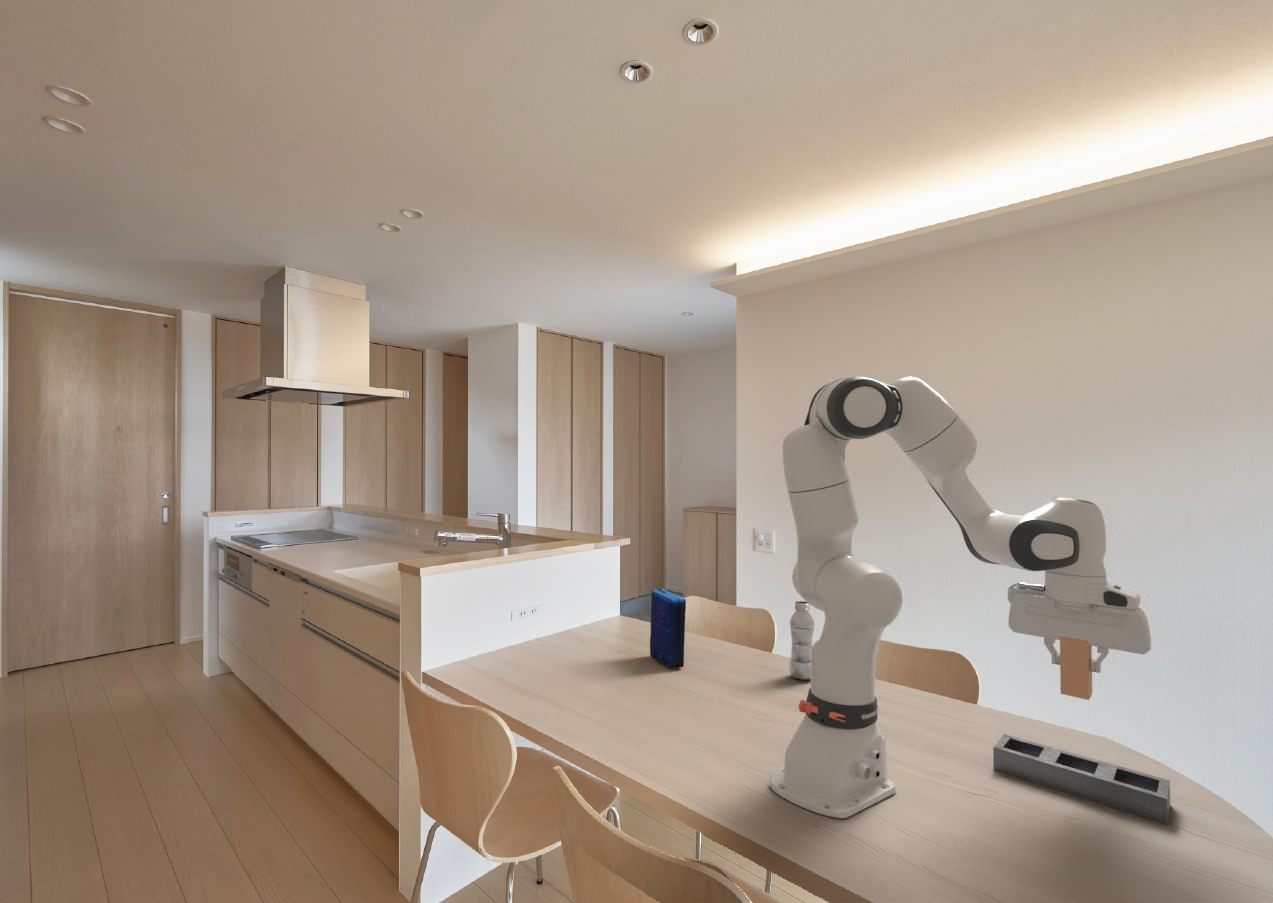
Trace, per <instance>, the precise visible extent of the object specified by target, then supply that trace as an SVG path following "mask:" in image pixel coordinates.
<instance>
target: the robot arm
mask: <svg viewBox="0 0 1273 903" xmlns="http://www.w3.org/2000/svg"><path fill="white" fill-rule="evenodd" d="M807 411H808V412H807V415H806V418H805V421H804V425H802V426H799V427H797V428H795V429H793V430H792V431H790V432H789V433H788V434H787V435H786V436H785V437H784V439H783V442H782V463H783V464H782V466H783V472H784V479H785V483H786V484H785V485H786V489H787V492H788V493H787V494H788V498H789V501H790V506H791V511H792V515H793V520H794V523H795V529H796V537H797V538H796V539H797V557H796V558H797V560H796V561H797V562H796V563H795V565H794V567H793V570H792V573H791V574H792V575H791V576H792V584H793V587H794V589H795V592H796V593H797V594H798V595H799V596H800V597H801V598H802V599H803V600H804V601H805V602H807V603H808V604H809V606H811V607H813V608H815V609H817V610H819V611H822V612H823V614H824V623H823V629H822V631H821V634H820V637H819V639H818V640H816V641H815V642H814V643H813V644H812V649H811V679H810V688H809V689H808V693H807V696H806V700H803V699H801V700H800V701H799V703H798V711H799V712H800V713H805V715H804V716H803V718H802V720H801V722H800V723H799V726H798V728H797V730H796V731H795V733H794V735H793V737H792V739H790V742H789V743H788V746H787V748H786V750H785V756H784V762H783V764H782V765H781V766H780V768H778V769H777V771H776V772H775V774H774V775H773V776H772V777H771V778H770V781H769V787H770V788H771V789H772V791H774V792H775V793H776V794H777V795H778V796H780V797H782V798H783V799H786V800H787V801H789V802H791V803H793V804H795V805H797V806H799V807H801V808H804V809H806V810H809V811H811V812H813V813H814V812H815V813H817V814H820V815H823V816H827V817H832V818H836V819H846V818H850V817H851V816H853V815H855V814H857V813H859V812H861V811H863V810H865V809H866V808H869V807H870V806H873V805H874V804H876V803H878V802H881V801H882V800H885V799H886V798H888V797H890V796H892V795H894V794H895V793H896V785H895V783H894V782H892V780H891V779H890V778H889V777H888V764H887V763H888V761H887V748H886V738H884V736H883V734H882V733H881V731H880V729H879V726H878V725H877V721H878V712H879V705H878V699H877V697H876V696H875V694H876V693H875V692H876V690H875V688H876V687H875V686H876V685H875V684H876V678H875V677H876V657H877V651H878V647H879V644H880V640H881V637H882V635H883V633H884V630H885V629H887V627H888V626H889V625H891V624H892V623H894V621H895V620H896V619H897V617H898V616H899V614H900V612H901V610H902V606H903V593H902V592H903V591H902V590H901V587H900V585H899V583H898V582H897V581H896V579H895V578H894V577H893V576H891V575H890V574H889V573H887V572H886V571H885V570H883V569H882V568H879V567H878V566H876V565H874V564H872V563H868V562H864V561H860V560H857V559H855V557H854V555H853V551H852V550H853V549H852V542H853V541H852V539H853V532H854V531H855V529H856V528H857V526H858V524H859V514H858V510H857V506H856V502H855V496H854V494H853V488H852V484H851V481H850V476H849V473H848V468H847V466H846V457H845V456H846V454H845V453H846V448H847V445H848V443H849V442H850V440H863V439H868V438H871V437H874V436H877V435H878V434H881V433H886V434H887V435H888V436H889V437H891V438H892V439H893V440H894V442H895V443H896V445H898V447H899V448H900V449H901V451H903V453H904V454H905V455H906V456H907V458H908V459H910V460H911V462H912V463H913V464H914V466H916V468H917V469H918V470H919V471H920V472H921V474H922V475H923V476H924V479H925V480H926V481H927V483H928V484H929V485H930V487H931V489H932V490H933V491H934V493H935V494H936V495H937V497H938V498H939V499H940V501H941V502H942V504H943V505H944V506H945V507H946V510H948V511H949V514H951V516H952V517H953V518H954V520H955V521H956V522H957V525H958V526H959V528H960V531H961V533H962V537H963V540H964V543H965V545H966V547H967V549H968V551H969V552H970V554H971V555H972V556H973V557H974V558H976V559H977V560H978V561H980V562H982V563H986V564H992V565H1000V566H1005V567H1009V568H1014V569H1019V570H1021V571H1027V572H1041V571H1043V572H1044V584H1035V583H1034V584H1033V583H1032V584H1031V583H1025V582H1016V583H1015V584H1011V585H1009V587H1008V589H1007V600H1008V602H1009V604H1010V607H1009V613H1008V621H1007V622H1008V624H1007V625H1008V628H1009V629H1010V630H1011V632H1013V633H1017V634H1023V635H1027V636H1028V635H1029V636H1034V637H1039V638H1043V644H1044V645H1045V647H1046V649H1047V650H1048V652H1049V653H1050V655H1051V664H1053V665H1057V666H1060V652H1058V651H1057V649H1056V647H1055V645H1054V644H1055V643H1056V640H1057V641H1060V637H1065V638H1071V639H1077V640H1083V641H1088V645H1091V646H1092V647H1096V649H1097V650H1096V651H1097V653H1098V654H1100V655H1099V656H1098V657H1097V658H1096V659H1093V658H1092V659H1091V660H1090V661H1089V665H1090V667H1089V670H1090V671H1092V673H1093V672H1094V673H1098V674H1100V673H1102V662H1103V661H1104V660H1105V658H1106V657H1107V656H1108V655H1109V653H1110V650H1116V651H1121V652H1127V653H1134V654H1137V655H1146V654H1147V653H1149V652H1150V651H1151V650H1152V639H1151V630H1150V624H1149V621H1148V620H1149V619H1148V617H1147V615H1146V613H1145V612H1144V610H1143V609H1142V608H1140V604H1141V596H1140V594H1139V592H1137V591H1134V590H1133V589H1129V588H1126V587H1123V586H1120V585H1118V584H1114V583H1112V582H1109V581H1107V570H1106V568H1105V564H1104V558H1105V554H1106V552H1107V536H1106V535H1107V534H1106V525H1105V520H1104V516H1103V512H1102V509H1101V508H1100V506H1099V505H1097V504H1095V503H1094V502H1091V501H1088V500H1085V499H1079V498H1070V497H1063V496H1061V497H1060V496H1054V497H1051V498H1049V499H1048V501H1047V502H1045V503H1044V504H1043V505H1041V506H1039V507H1038V508H1035V509H1034V510H1032V511H1029V512H1026V513H1022V514H1020V515H1018V514H1011V513H1005V512H1002V511H999V510H997V509H995V508H993V507H991V506H990V505H989V504H988V503H987V501H986V500H985V498H983V497H982V495H981V493H980V492H979V490H977V488H976V487H975V485H974V484H973V482H972V481H971V480H970V479H969V476H968V475H967V472H966V469H967V468H968V466H970V465H971V463H972V462H973V460H974V458H975V456H976V454H977V448H978V442H977V439H976V437H975V434H974V432H973V431H972V429H971V428H970V427H969V425H968V424H967V422H966V421H965V419H963V418H962V416H961V415H960V414H959V413H958V412H957V411H956V410H955V408H953V407H952V405H951V404H950V403H949V402H948V401H947V400H946V399H945V398H944V397H943V396H942V395H940V394H939V393H938V392H937V391H936V390H935V389H933V388H932V387H931V386H930V385H929V384H927V383H926V382H925V381H924V380H922V379H920V378H918V377H915V376H904V377H900V378H897V379H895V380H893V381H891V382H890V383H888V384H887V383H884V382H882V381H879V380H876V379H875V378H874V379H873V378H872V377H871V378H870V377H867V376H866V377H865V376H851V377H842V378H838V379H836V380H833V381H831V382H829V383H827V384H825V385H823V386H822V387H820V388H819V389H818V390H817V391H816V393H815V394H814V395H813V397H812V399H811V402H810V404H809V409H808V410H807Z"/></svg>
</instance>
